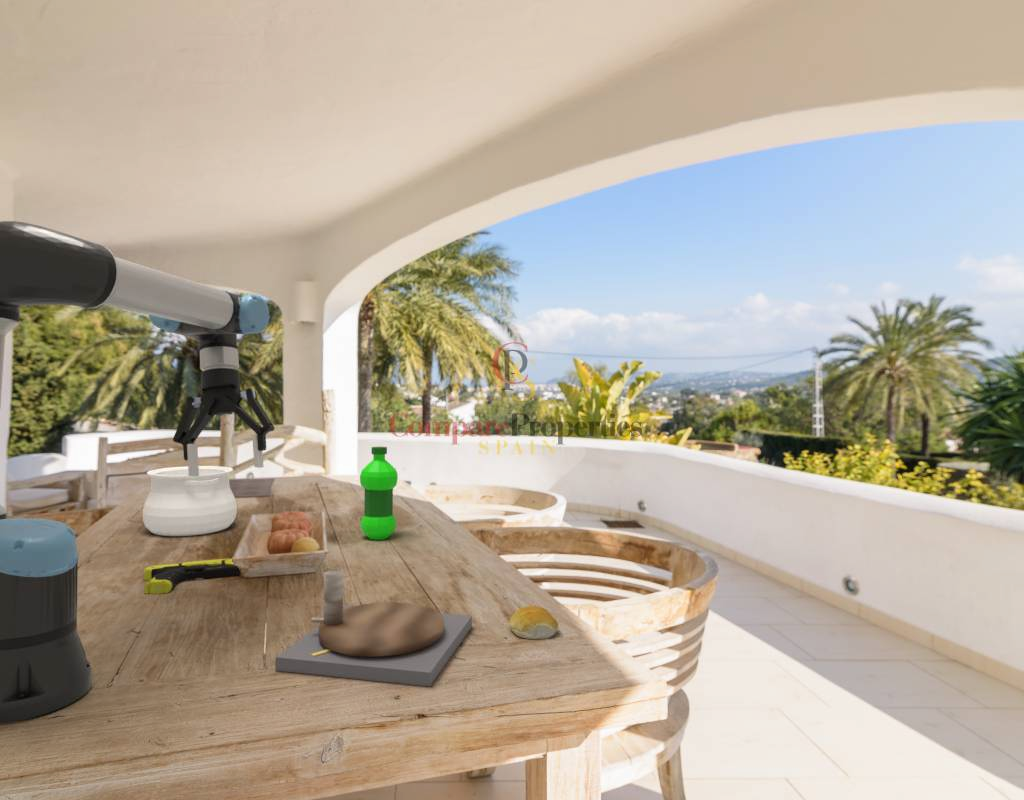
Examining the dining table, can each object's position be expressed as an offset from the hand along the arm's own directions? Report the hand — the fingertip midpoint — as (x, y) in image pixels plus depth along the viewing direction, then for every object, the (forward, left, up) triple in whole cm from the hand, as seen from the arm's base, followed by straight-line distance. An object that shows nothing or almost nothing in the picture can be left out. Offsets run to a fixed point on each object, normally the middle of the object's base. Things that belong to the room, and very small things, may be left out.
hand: (226, 471), depth 138 cm
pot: (+48, +43, -24) cm, 69 cm away
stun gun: (+4, +10, -25) cm, 27 cm away
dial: (-21, -43, -22) cm, 52 cm away
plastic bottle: (+51, -13, -24) cm, 58 cm away
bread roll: (-8, -66, -25) cm, 71 cm away
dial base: (-21, -43, -24) cm, 54 cm away
